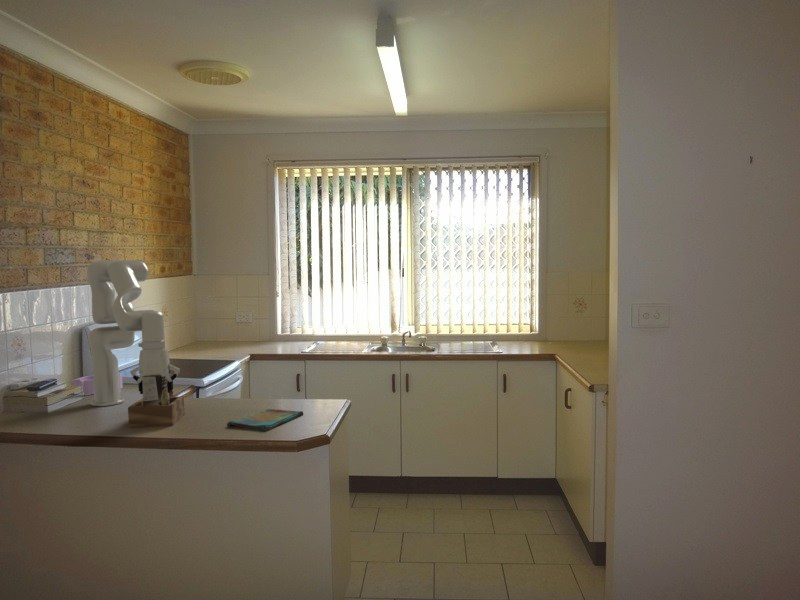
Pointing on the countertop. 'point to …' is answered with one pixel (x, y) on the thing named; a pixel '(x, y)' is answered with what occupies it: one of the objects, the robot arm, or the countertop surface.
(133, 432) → the countertop surface
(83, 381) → the pink plastic container
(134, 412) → the open wooden box
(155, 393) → the coffee box
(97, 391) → the robot arm
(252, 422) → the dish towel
